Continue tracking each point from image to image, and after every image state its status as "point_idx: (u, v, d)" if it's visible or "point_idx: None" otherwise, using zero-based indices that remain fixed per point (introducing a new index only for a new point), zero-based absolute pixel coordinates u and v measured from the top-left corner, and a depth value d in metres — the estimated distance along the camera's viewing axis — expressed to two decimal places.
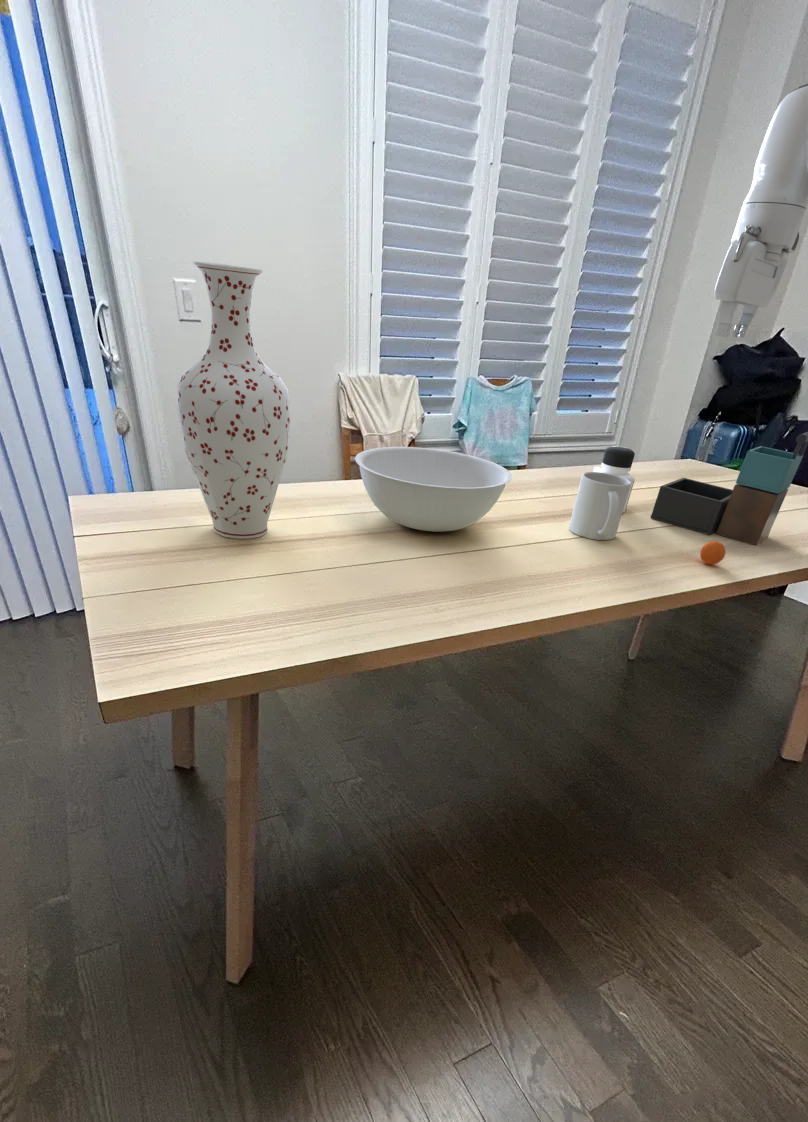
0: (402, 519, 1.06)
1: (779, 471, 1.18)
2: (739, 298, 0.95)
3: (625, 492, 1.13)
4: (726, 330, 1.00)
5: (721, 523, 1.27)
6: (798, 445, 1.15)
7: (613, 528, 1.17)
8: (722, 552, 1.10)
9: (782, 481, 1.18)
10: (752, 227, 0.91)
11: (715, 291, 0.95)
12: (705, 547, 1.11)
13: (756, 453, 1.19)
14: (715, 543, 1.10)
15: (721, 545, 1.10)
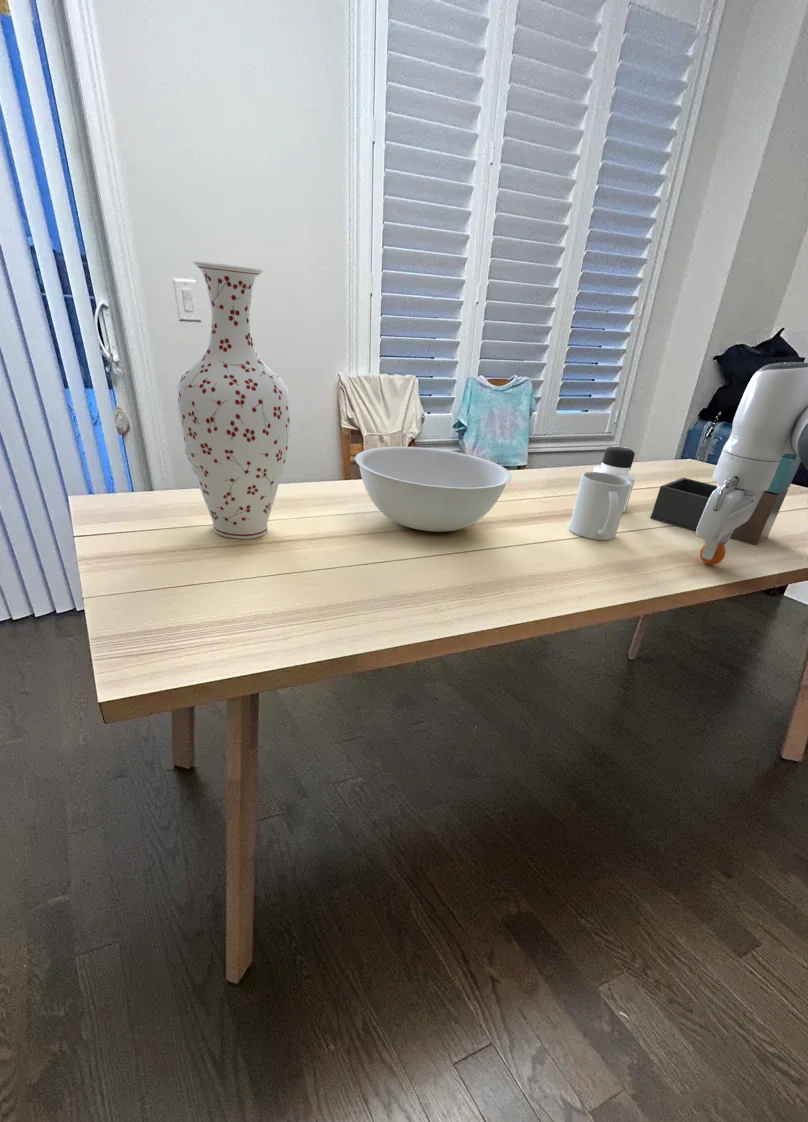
0: (402, 519, 1.06)
1: (779, 471, 1.18)
2: (719, 538, 1.03)
3: (625, 492, 1.13)
4: (712, 555, 1.08)
5: None
6: None
7: (613, 528, 1.17)
8: (722, 552, 1.10)
9: (782, 481, 1.18)
10: (730, 483, 0.98)
11: (697, 531, 1.02)
12: None
13: None
14: None
15: (721, 545, 1.10)
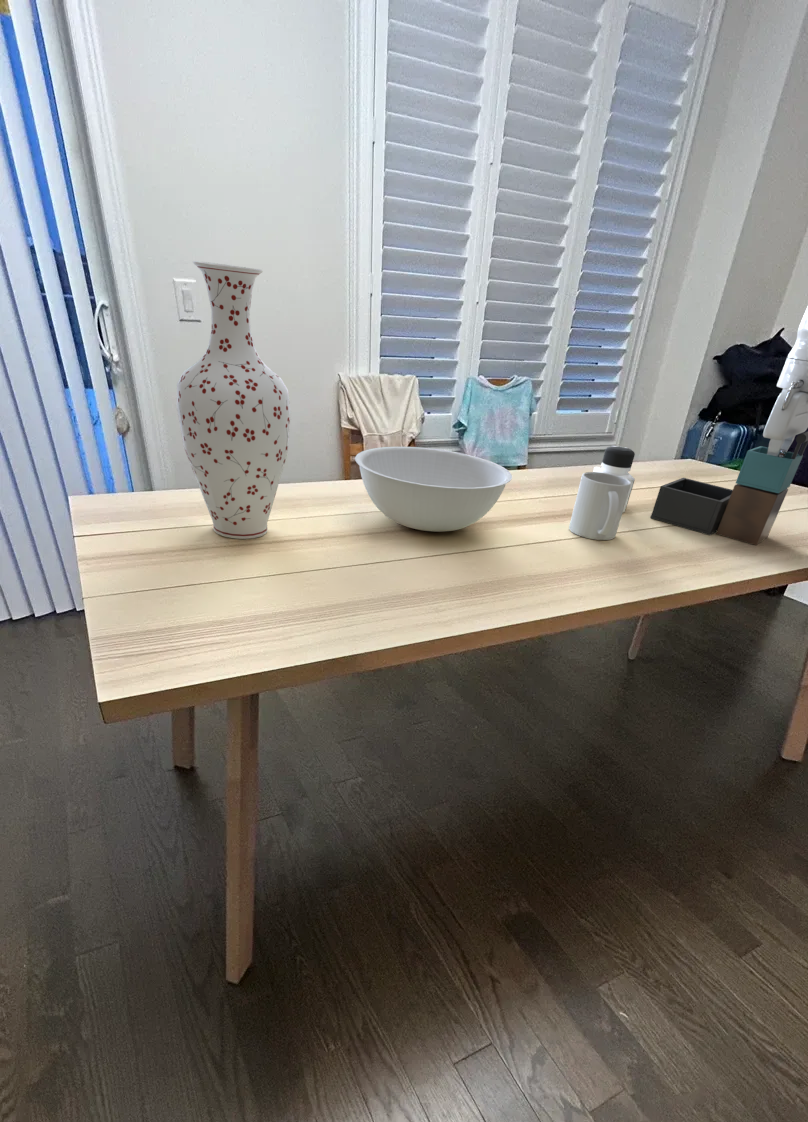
0: (402, 519, 1.06)
1: (779, 471, 1.18)
2: (785, 437, 1.12)
3: (625, 492, 1.13)
4: None
5: (721, 523, 1.27)
6: (798, 445, 1.15)
7: (613, 528, 1.17)
8: None
9: (782, 481, 1.18)
10: (797, 383, 1.08)
11: (765, 432, 1.12)
12: None
13: (756, 453, 1.19)
14: None
15: None
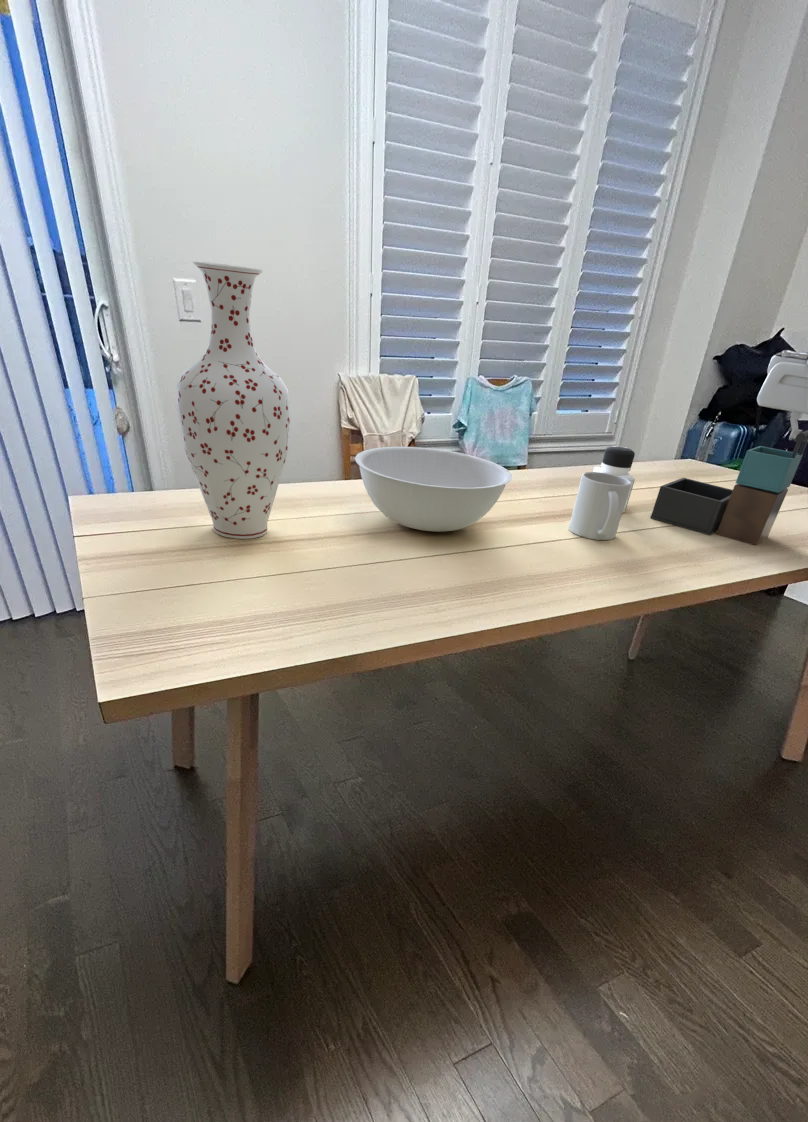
0: (402, 519, 1.06)
1: (779, 470, 1.18)
2: (766, 404, 1.17)
3: (625, 492, 1.13)
4: (790, 434, 1.17)
5: (721, 523, 1.27)
6: (797, 444, 1.15)
7: (613, 528, 1.17)
8: None
9: (782, 480, 1.18)
10: (784, 352, 1.14)
11: None
12: None
13: (755, 453, 1.19)
14: None
15: None
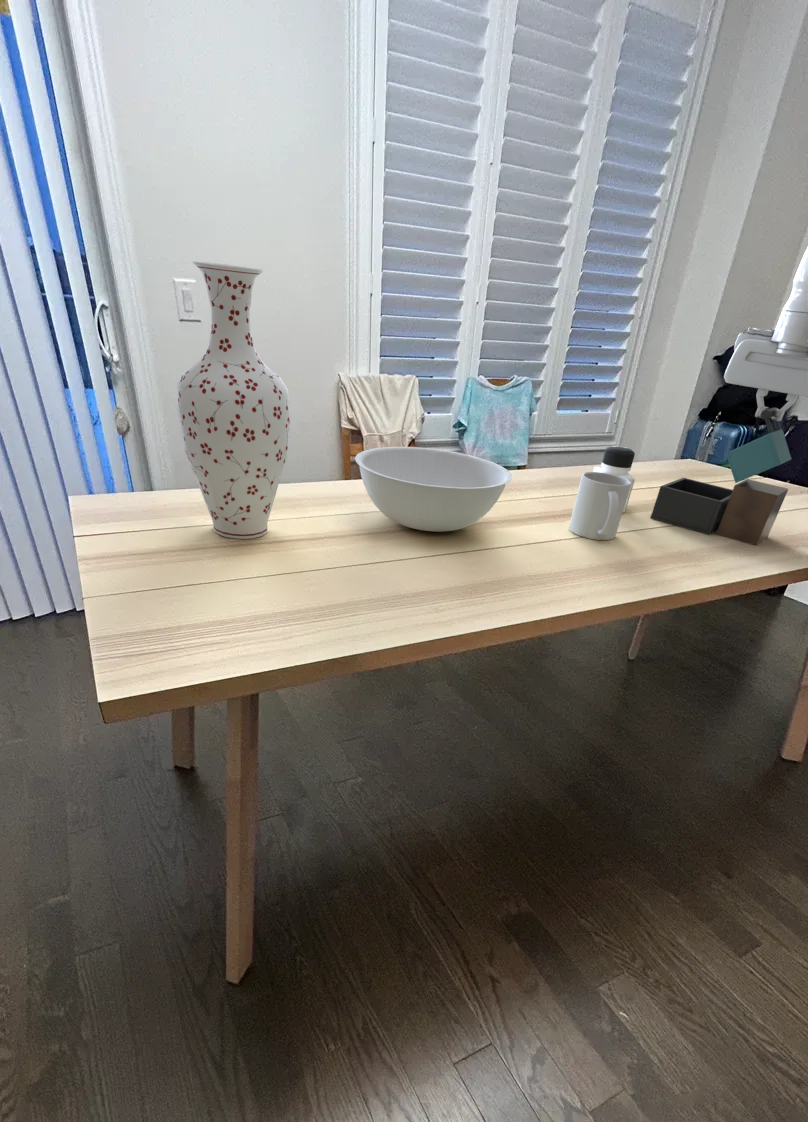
0: (402, 519, 1.06)
1: (766, 448, 1.17)
2: (733, 381, 1.19)
3: (625, 492, 1.13)
4: (756, 411, 1.19)
5: (721, 523, 1.27)
6: (766, 420, 1.17)
7: (613, 528, 1.17)
8: None
9: (775, 453, 1.17)
10: (750, 329, 1.15)
11: None
12: None
13: (734, 450, 1.21)
14: None
15: None
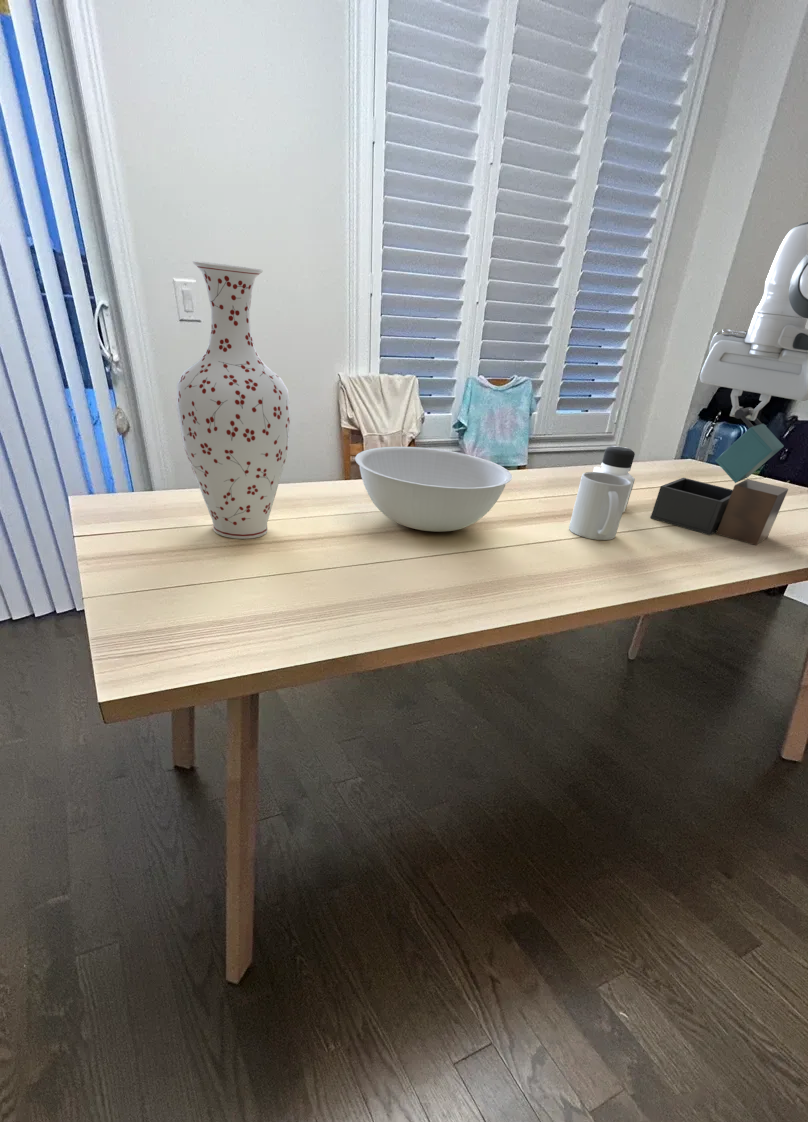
0: (402, 519, 1.06)
1: (752, 441, 1.18)
2: (708, 381, 1.22)
3: (625, 492, 1.13)
4: (731, 411, 1.22)
5: (721, 523, 1.27)
6: (742, 418, 1.19)
7: (613, 528, 1.17)
8: None
9: (763, 442, 1.17)
10: (724, 330, 1.18)
11: None
12: None
13: (722, 454, 1.22)
14: None
15: None
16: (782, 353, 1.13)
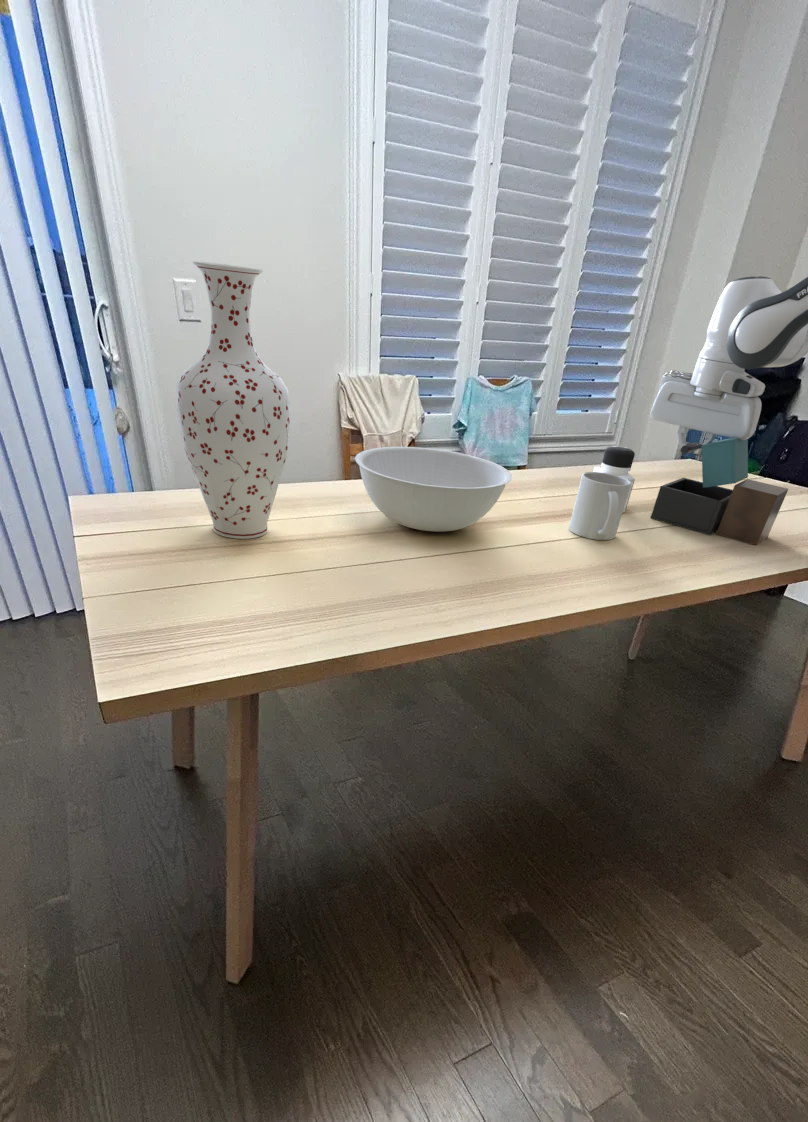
0: (402, 519, 1.06)
1: (713, 450, 1.23)
2: (658, 418, 1.30)
3: (625, 492, 1.13)
4: (678, 446, 1.30)
5: (721, 523, 1.27)
6: (690, 448, 1.27)
7: (613, 528, 1.17)
8: None
9: (722, 442, 1.22)
10: (671, 372, 1.26)
11: None
12: None
13: (703, 479, 1.26)
14: None
15: None
16: (723, 396, 1.21)
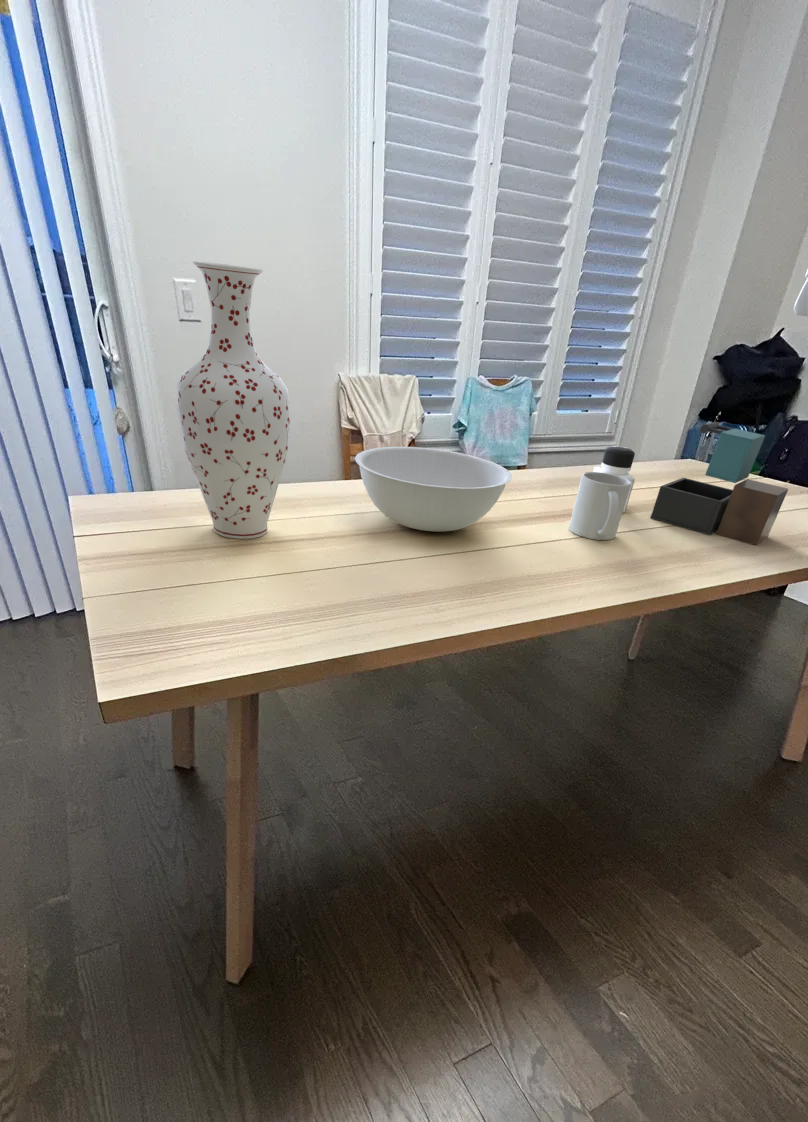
0: (402, 519, 1.06)
1: (730, 442, 1.21)
2: (804, 312, 1.12)
3: (625, 492, 1.13)
4: None
5: (721, 523, 1.27)
6: (710, 430, 1.23)
7: (613, 528, 1.17)
8: None
9: (740, 437, 1.19)
10: None
11: None
12: None
13: (709, 466, 1.25)
14: None
15: None
16: None
